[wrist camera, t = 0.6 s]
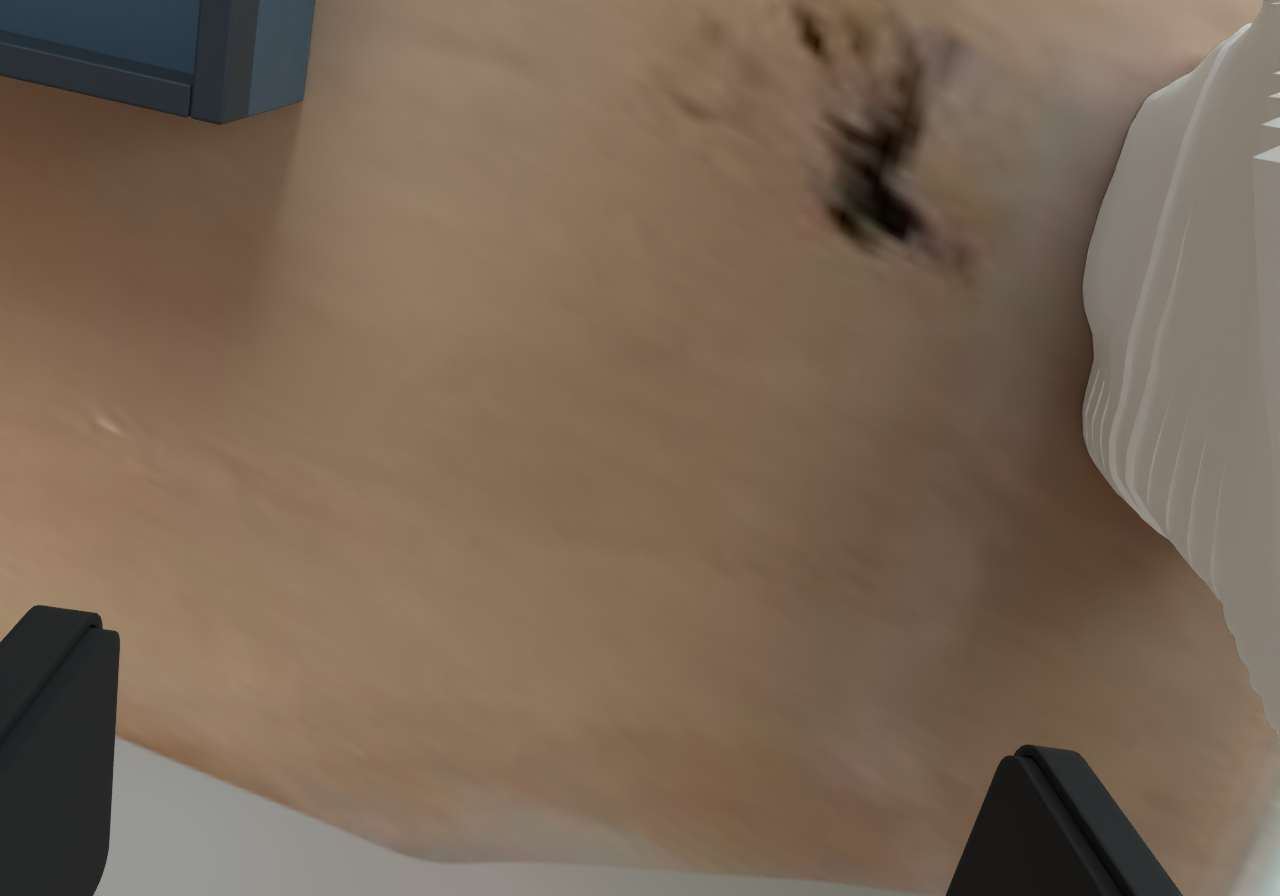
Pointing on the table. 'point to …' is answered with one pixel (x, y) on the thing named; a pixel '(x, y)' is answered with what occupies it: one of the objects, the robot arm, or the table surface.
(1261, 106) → the paper stack
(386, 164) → the table surface
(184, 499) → the table surface
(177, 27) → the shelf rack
